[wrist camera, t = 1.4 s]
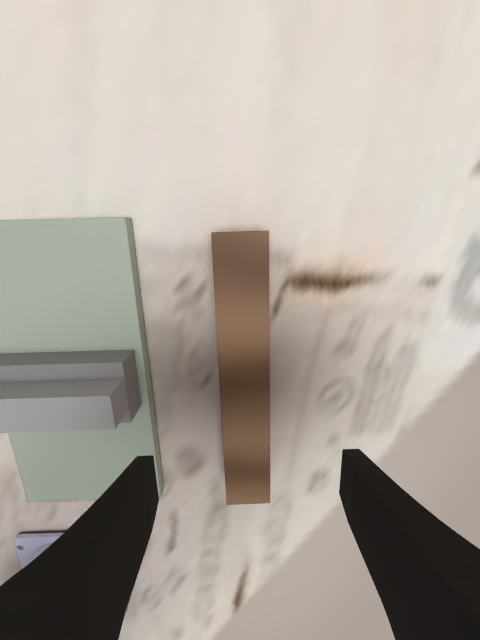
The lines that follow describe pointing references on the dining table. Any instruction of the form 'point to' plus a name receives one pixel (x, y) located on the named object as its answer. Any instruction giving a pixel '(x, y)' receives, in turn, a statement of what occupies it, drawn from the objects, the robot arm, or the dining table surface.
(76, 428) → the balance stand
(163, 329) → the dining table surface
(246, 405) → the walnut beam
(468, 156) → the dining table surface
